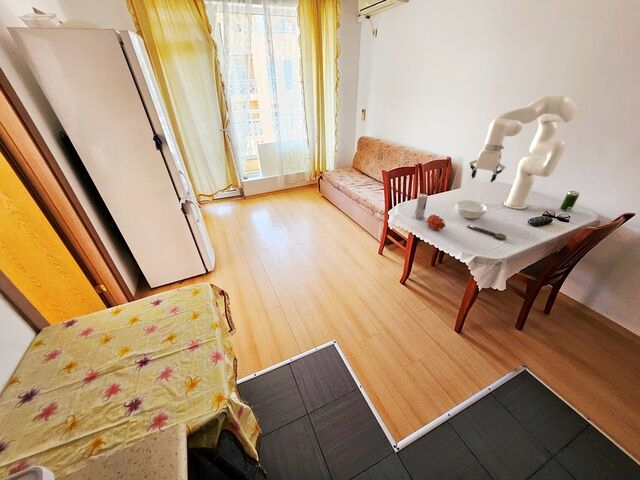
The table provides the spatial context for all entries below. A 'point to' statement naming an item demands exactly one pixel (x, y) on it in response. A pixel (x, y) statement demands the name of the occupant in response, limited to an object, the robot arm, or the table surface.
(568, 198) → the beer can
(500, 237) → the wooden spoon
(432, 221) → the dragon fruit
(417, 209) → the beverage can
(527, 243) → the table surface
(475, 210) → the cereal bowl
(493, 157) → the robot arm
